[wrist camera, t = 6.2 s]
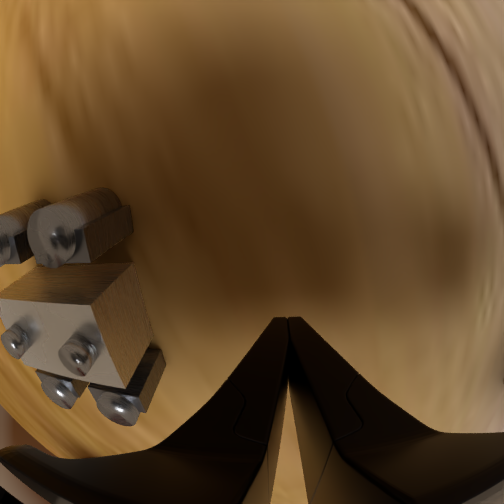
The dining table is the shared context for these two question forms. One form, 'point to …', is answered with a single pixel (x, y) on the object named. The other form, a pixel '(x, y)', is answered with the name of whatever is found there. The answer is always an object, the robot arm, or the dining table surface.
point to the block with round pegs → (78, 321)
